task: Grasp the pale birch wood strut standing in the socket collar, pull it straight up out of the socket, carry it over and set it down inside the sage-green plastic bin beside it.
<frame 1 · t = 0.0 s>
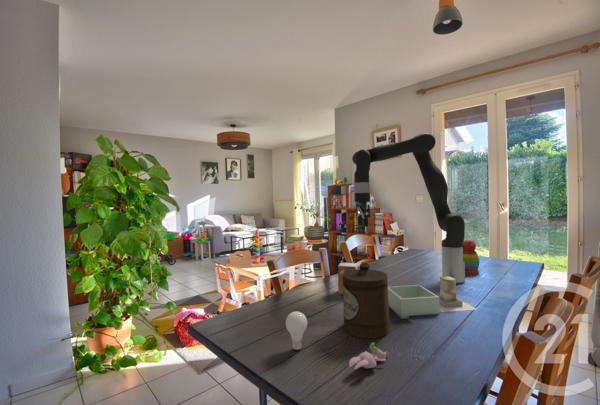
hand: (363, 225, 141), 29 cm above the table, tool pointing down, fingers open, 8 cm apart
socket: (448, 306, 114), on the table
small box: (348, 293, 133), on the table
strut: (448, 303, 114), point 1 cm above the table, touching socket
stacking bear: (468, 272, 159), on the table
bin: (411, 309, 112), on the table
wooden container: (366, 328, 98), on the table
lightbulb: (297, 350, 86), on the table
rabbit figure: (369, 367, 77), on the table
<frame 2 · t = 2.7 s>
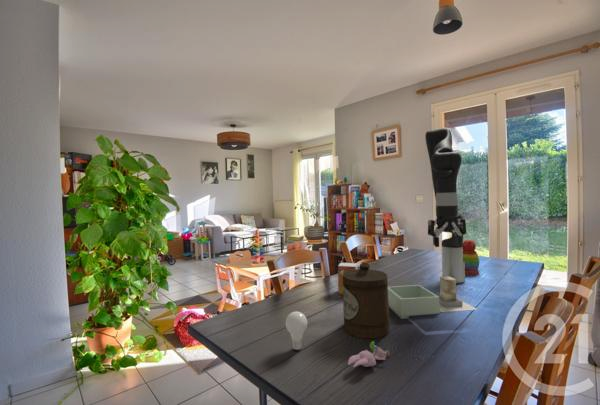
hand: (447, 246, 114), 24 cm above the table, tool pointing down, fingers open, 8 cm apart
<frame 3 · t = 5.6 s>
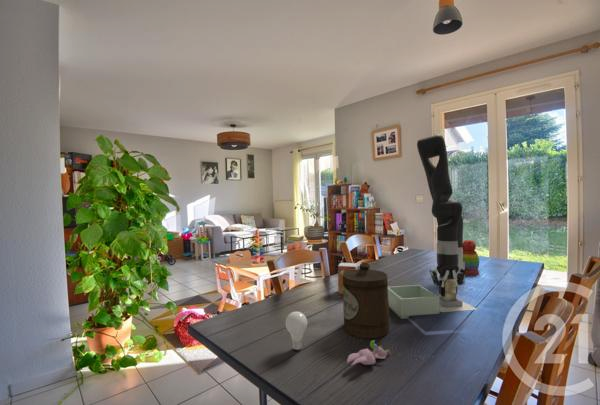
hand: (448, 295, 114), 4 cm above the table, tool pointing down, fingers closed on strut, 4 cm apart
strut: (448, 303, 114), point 1 cm above the table, touching gripper, socket
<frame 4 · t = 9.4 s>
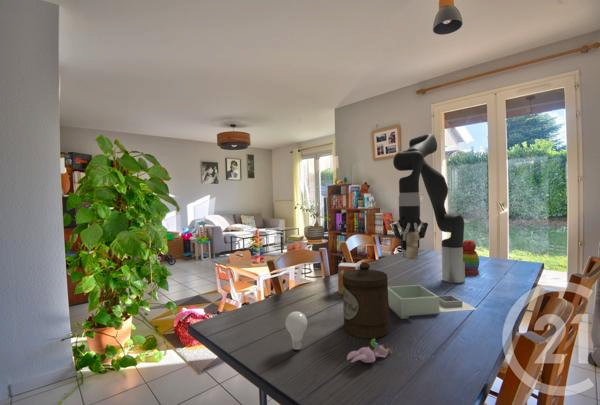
hand: (410, 249, 111), 23 cm above the table, tool pointing down, fingers closed on strut, 4 cm apart
strut: (410, 258, 111), point 20 cm above the table, touching gripper
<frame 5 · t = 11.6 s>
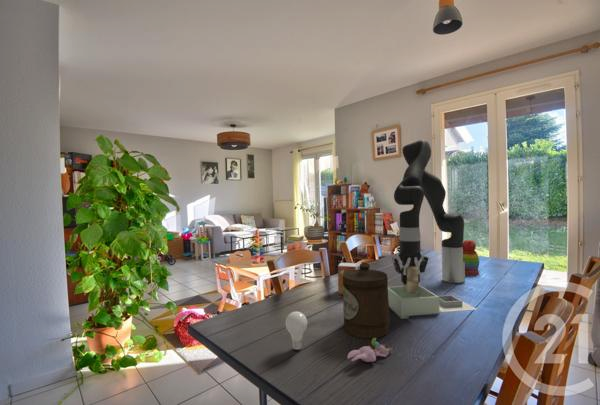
hand: (410, 283, 112), 10 cm above the table, tool pointing down, fingers closed on strut, 4 cm apart
strut: (410, 291, 112), point 7 cm above the table, touching gripper
when the fingers open (6 cm above the table, at t = 13.4 s): strut drops 2 cm, resting on bin.
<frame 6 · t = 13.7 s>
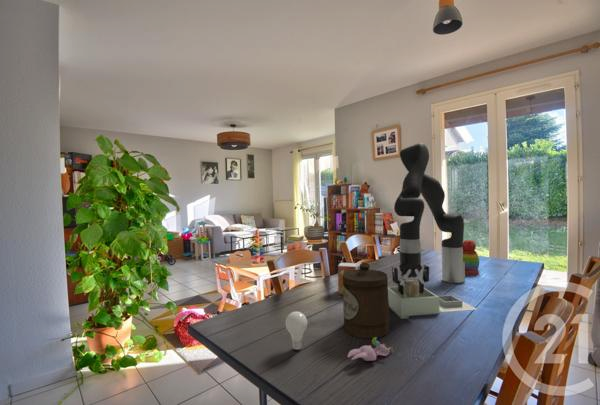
hand: (410, 293, 112), 6 cm above the table, tool pointing down, fingers open, 7 cm apart
strut: (411, 307, 112), point 1 cm above the table, touching bin
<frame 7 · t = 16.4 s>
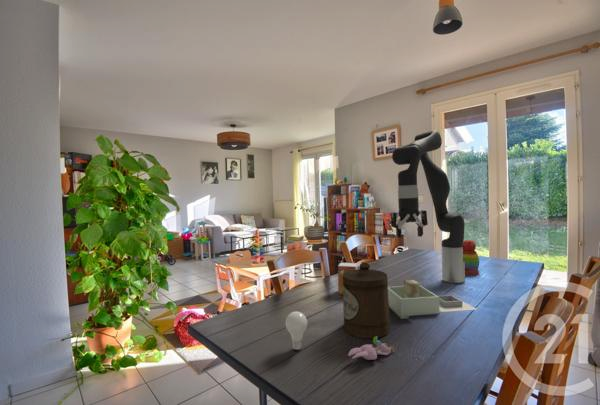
hand: (409, 237, 117), 27 cm above the table, tool pointing down, fingers open, 8 cm apart
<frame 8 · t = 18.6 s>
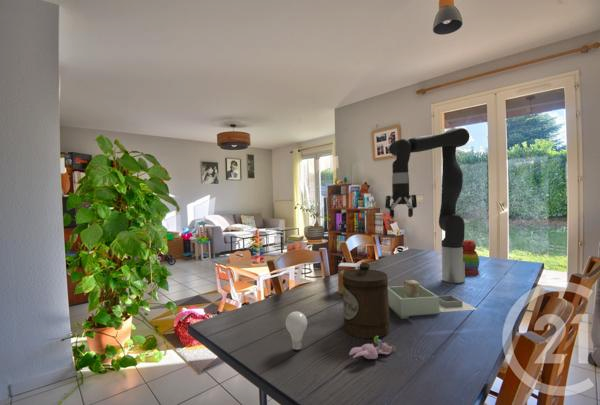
hand: (401, 217, 138), 33 cm above the table, tool pointing down, fingers open, 8 cm apart
at the end: strut inside the target area on the bin (0.2 cm from its centre), point 0.8 cm above the bin's base; strut tilted 0°; the gripper is holding nothing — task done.
